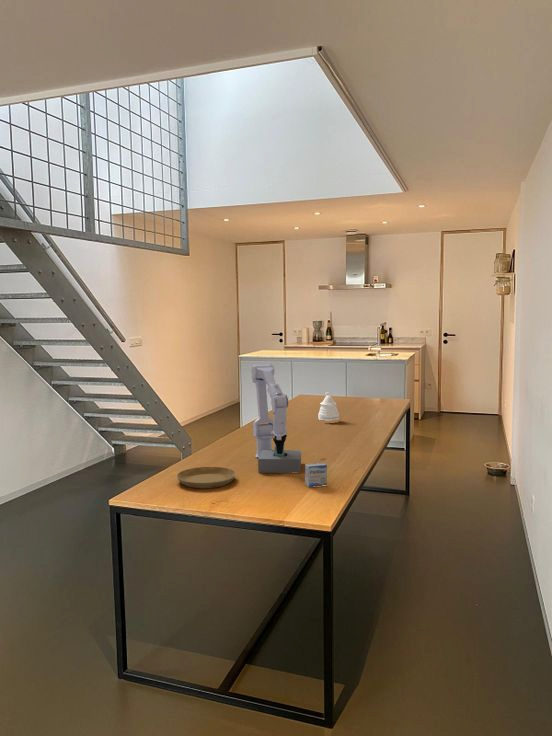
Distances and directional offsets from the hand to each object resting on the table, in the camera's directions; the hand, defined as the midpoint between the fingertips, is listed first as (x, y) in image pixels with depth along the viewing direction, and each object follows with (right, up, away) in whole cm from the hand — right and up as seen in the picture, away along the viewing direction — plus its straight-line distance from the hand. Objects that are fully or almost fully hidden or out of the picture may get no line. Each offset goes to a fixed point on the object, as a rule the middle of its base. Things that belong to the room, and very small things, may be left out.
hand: (280, 452), depth 255 cm
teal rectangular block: (0, -2, 0) cm, 2 cm away
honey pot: (+31, +4, +102) cm, 107 cm away
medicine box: (+14, -10, -25) cm, 31 cm away
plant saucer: (-30, -10, -18) cm, 37 cm away
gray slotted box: (0, -7, +1) cm, 7 cm away
